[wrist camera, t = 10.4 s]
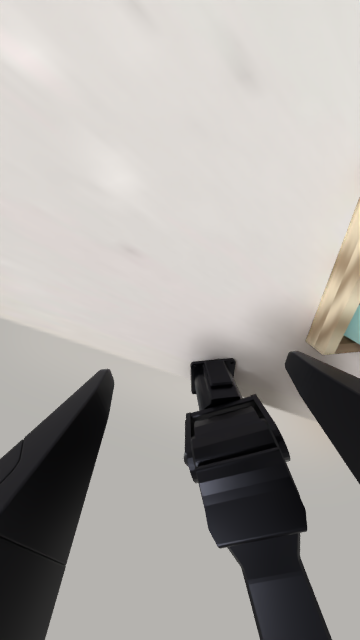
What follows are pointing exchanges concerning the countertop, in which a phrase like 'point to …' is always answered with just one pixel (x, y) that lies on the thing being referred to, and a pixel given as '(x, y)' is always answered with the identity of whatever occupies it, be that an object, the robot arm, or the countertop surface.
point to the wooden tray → (339, 297)
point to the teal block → (354, 327)
